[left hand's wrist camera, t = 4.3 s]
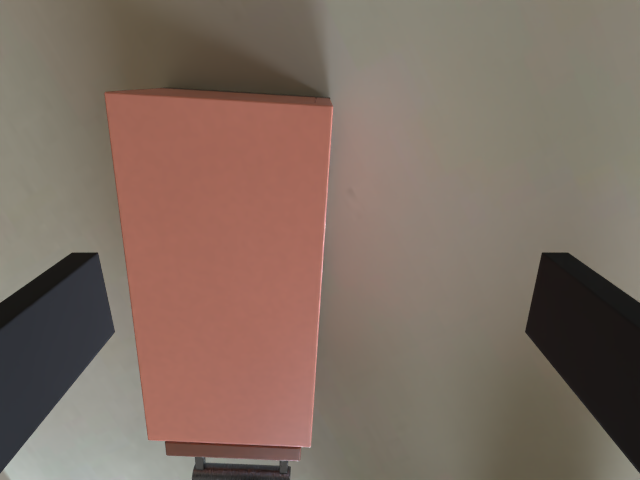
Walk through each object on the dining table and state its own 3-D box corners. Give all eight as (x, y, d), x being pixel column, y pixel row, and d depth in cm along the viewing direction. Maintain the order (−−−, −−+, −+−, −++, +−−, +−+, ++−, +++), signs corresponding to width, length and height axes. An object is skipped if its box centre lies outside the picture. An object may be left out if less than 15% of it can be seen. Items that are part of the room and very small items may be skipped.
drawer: (300, 453, 35) (296, 524, 29) (196, 449, 35) (172, 519, 29) (316, 155, 26) (315, 177, 20) (175, 147, 25) (134, 167, 20)
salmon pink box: (313, 365, 32) (311, 448, 25) (186, 359, 32) (147, 440, 25) (329, 97, 25) (333, 105, 18) (165, 87, 25) (103, 91, 18)
